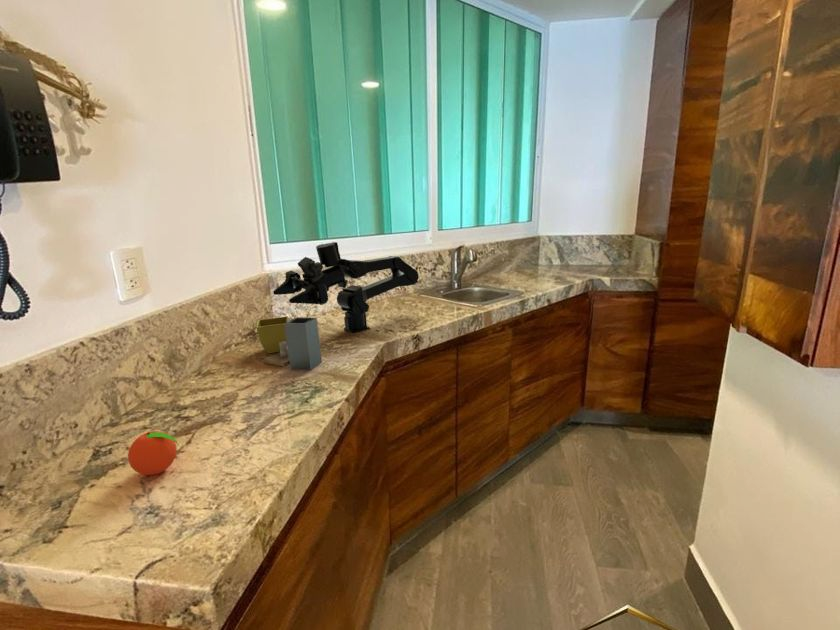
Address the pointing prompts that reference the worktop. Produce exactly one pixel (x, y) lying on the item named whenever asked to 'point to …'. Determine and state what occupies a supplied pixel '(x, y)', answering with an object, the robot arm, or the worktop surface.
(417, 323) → the worktop surface
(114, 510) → the worktop surface
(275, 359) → the tan piece
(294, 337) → the open square box
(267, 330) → the flower pot
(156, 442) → the clementine
